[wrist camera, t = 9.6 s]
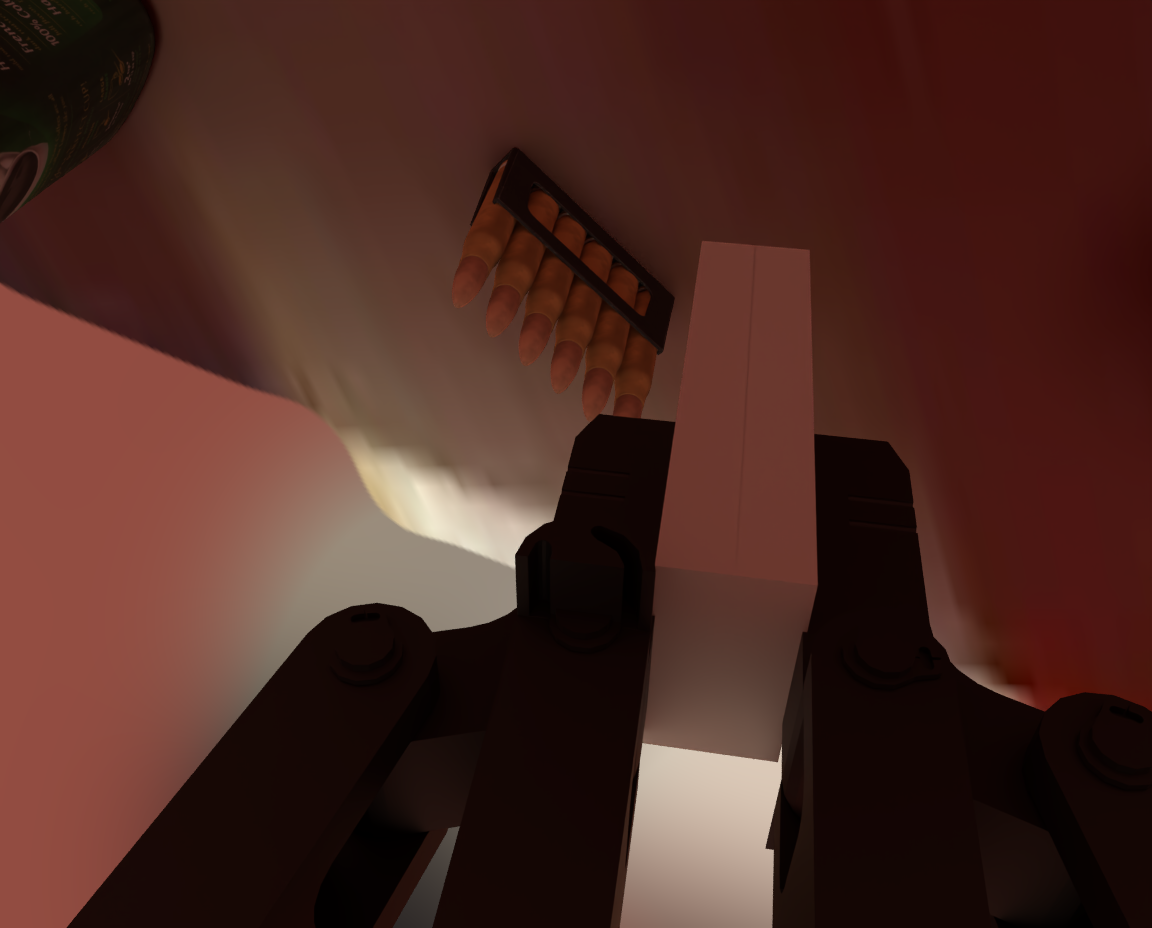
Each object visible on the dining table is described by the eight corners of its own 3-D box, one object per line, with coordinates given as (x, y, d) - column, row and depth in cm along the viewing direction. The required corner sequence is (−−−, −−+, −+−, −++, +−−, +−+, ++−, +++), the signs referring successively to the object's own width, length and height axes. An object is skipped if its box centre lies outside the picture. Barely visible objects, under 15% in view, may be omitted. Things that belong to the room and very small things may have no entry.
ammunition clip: (489, 171, 49) (423, 303, 40) (515, 145, 48) (453, 274, 39) (648, 320, 53) (621, 471, 43) (675, 298, 52) (653, 449, 42)
